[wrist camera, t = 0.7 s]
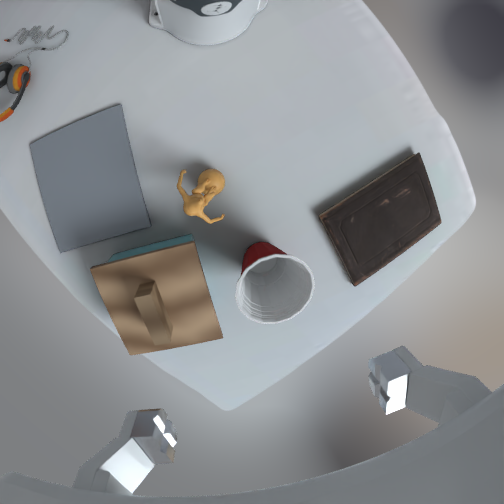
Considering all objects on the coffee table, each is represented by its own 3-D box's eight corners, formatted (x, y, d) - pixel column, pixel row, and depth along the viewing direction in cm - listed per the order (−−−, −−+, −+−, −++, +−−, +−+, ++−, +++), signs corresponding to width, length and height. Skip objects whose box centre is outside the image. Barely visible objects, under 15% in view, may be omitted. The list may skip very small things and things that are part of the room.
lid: (92, 266, 38) (79, 281, 34) (194, 240, 39) (192, 253, 35) (131, 351, 44) (125, 371, 40) (222, 334, 45) (224, 354, 40)
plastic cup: (246, 298, 51) (257, 339, 40) (217, 247, 47) (219, 279, 36) (302, 270, 51) (326, 304, 40) (277, 216, 47) (298, 239, 36)
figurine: (238, 192, 45) (247, 209, 34) (208, 217, 45) (208, 241, 34) (203, 151, 42) (201, 153, 31) (173, 177, 43) (160, 188, 31)
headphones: (71, 20, 28) (7, 128, 29) (79, 35, 33) (23, 135, 34) (11, 17, 23) (-44, 112, 24) (21, 29, 29) (-29, 118, 29)
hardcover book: (315, 213, 48) (320, 216, 46) (412, 151, 46) (419, 152, 44) (351, 282, 54) (356, 288, 52) (435, 221, 52) (442, 224, 50)
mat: (31, 144, 36) (29, 144, 36) (121, 104, 37) (120, 104, 37) (61, 251, 44) (60, 252, 43) (151, 225, 45) (150, 226, 44)
